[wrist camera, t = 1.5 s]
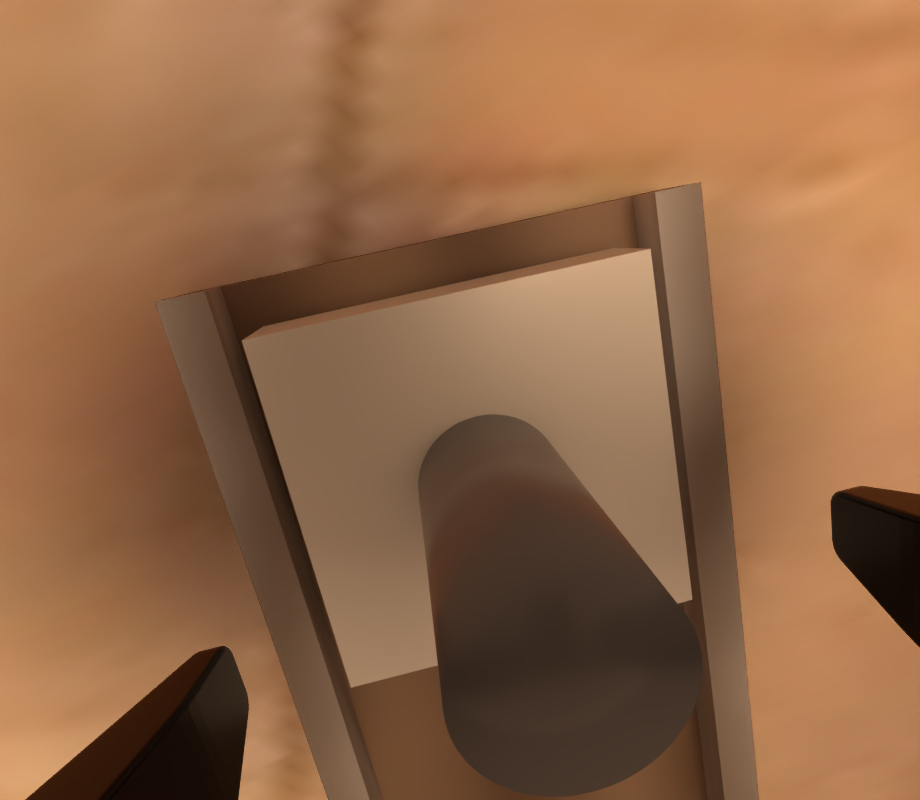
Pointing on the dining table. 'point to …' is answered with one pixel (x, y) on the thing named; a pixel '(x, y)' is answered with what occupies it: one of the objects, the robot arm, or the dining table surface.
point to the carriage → (500, 509)
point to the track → (418, 693)
